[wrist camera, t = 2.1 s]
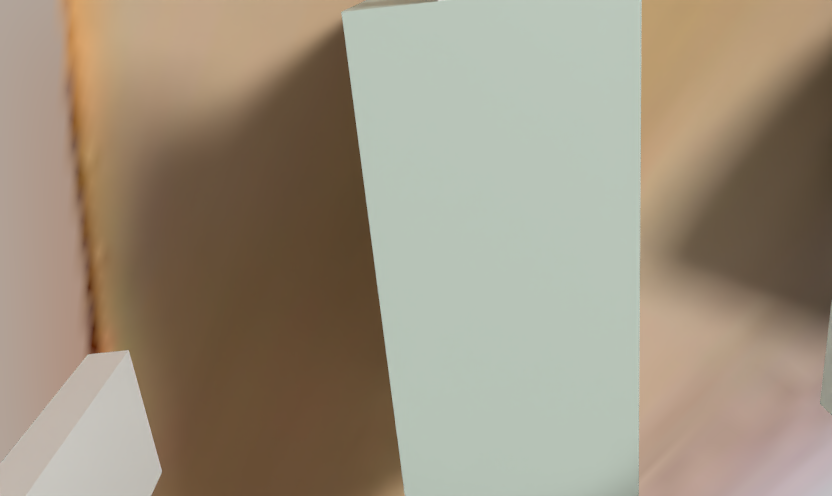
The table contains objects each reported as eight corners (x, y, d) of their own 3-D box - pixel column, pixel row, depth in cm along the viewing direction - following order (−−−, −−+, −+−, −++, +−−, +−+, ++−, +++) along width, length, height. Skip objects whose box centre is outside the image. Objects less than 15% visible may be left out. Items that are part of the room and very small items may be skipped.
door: (507, -144, 20) (643, -312, 8) (539, 473, 27) (636, 830, 15) (361, -128, 20) (304, -271, 9) (431, 483, 27) (450, 846, 16)
